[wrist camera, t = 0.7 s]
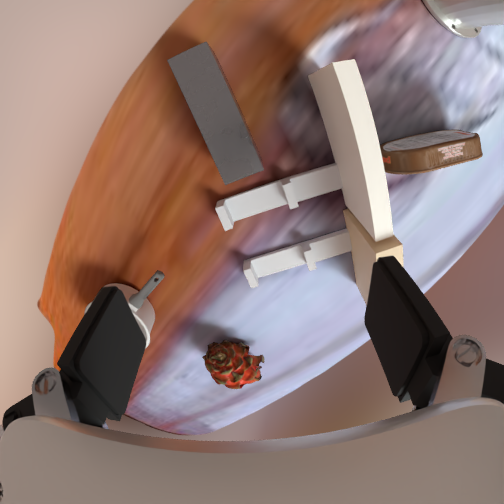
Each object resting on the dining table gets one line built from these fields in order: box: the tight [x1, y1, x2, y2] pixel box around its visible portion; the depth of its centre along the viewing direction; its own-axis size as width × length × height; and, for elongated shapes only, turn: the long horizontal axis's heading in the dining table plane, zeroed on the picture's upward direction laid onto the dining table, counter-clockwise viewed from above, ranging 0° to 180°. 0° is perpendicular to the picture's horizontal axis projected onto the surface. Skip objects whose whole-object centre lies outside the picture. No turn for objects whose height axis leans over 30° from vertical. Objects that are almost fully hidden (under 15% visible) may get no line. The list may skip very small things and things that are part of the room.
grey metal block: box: [167, 42, 264, 185], centre depth 25 cm, size 4×14×6 cm, turn 22°
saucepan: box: [85, 270, 164, 347], centre depth 38 cm, size 12×20×6 cm, turn 136°
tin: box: [380, 130, 483, 175], centre depth 25 cm, size 15×3×8 cm, turn 110°
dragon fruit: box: [203, 340, 264, 389], centre depth 44 cm, size 8×8×12 cm
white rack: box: [215, 59, 403, 305], centre depth 28 cm, size 18×30×11 cm, turn 20°
